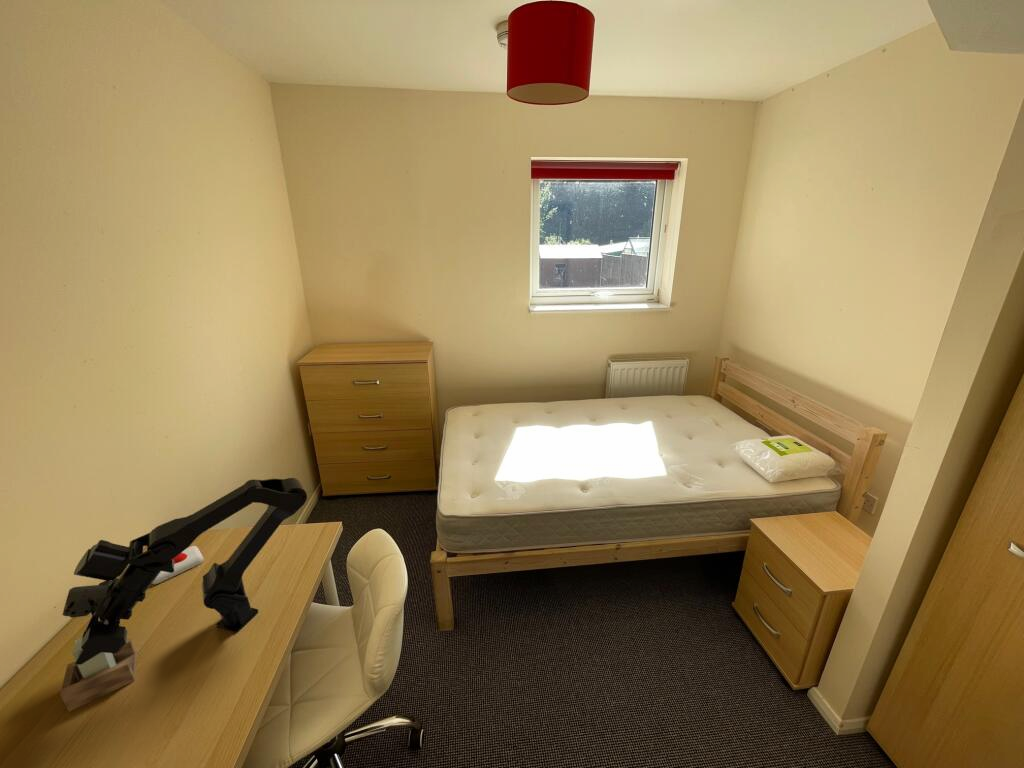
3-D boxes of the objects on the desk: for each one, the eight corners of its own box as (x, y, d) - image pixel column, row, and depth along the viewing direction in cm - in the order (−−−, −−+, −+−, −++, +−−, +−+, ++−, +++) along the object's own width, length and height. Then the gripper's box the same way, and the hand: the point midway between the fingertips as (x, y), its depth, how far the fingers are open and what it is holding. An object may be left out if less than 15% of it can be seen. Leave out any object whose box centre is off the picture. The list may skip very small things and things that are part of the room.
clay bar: (116, 664, 92) (102, 629, 89) (114, 678, 89) (99, 642, 86) (91, 675, 90) (76, 639, 87) (88, 690, 87) (72, 653, 84)
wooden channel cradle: (136, 653, 96) (129, 637, 94) (134, 680, 90) (127, 664, 88) (75, 680, 90) (67, 664, 88) (69, 711, 84) (60, 694, 82)
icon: (192, 536, 128) (201, 551, 121) (196, 547, 129) (205, 563, 123) (141, 558, 119) (147, 575, 113) (146, 570, 121) (152, 588, 114)
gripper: (93, 549, 91) (40, 616, 88) (79, 604, 77) (15, 686, 74) (151, 562, 98) (104, 624, 95) (148, 614, 84) (92, 689, 81)
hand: (80, 652), depth 86 cm, fingers open, 6 cm apart
